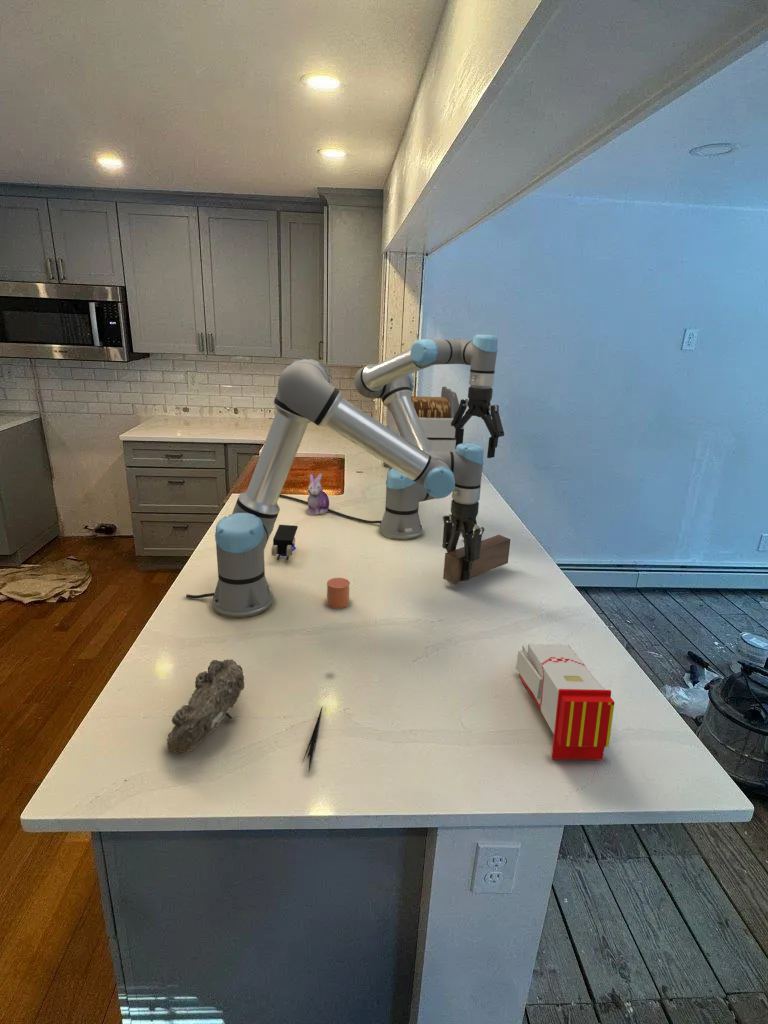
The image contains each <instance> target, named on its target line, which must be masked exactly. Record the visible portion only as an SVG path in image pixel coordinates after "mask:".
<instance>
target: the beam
mask: <svg viewBox="0 0 768 1024" xmlns="http://www.w3.org/2000/svg"><path fill="white" fill-rule="evenodd" d="M511 541H512V540H511V538H509V537H507V536H504V535H501V534H496V535H493V536H491V537H488V538H485V539H482V541H481V550H480V558H479V559H478V560H476V561H473V566H472V570H471V571H470V578H469V580H470V579H472V578H475V577H477V576H480V575H483V574H484V573H487V572H490V571H492V570H494V569H497V568H500V567H502V566H504V565H507V564H508V563H509V557H510V549H511ZM464 559H465V549H464V546H462V547H460V548H456V550H453V551H450V552H447V551H446V552H445V553H444V564H443V575H442V579H443V580H445V581H447V582H449V583H451V584H453V585H457V584H460V583H463V582H462V581H461V576H462V566H463V560H464Z"/></svg>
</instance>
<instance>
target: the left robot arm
mask: <svg viewBox="0 0 768 1024" xmlns="http://www.w3.org/2000/svg"><path fill="white" fill-rule="evenodd" d="M273 405H274V407H275V409H276V412H275V414H274V417H273V420H272V422H271V425H270V428H269V431H268V433H267V436H266V438H265V441H264V444H263V447H262V449H261V451H260V454H259V457H258V460H257V462H256V465H255V467H254V471H253V473H252V475H251V478H250V481H249V484H248V487H247V489H246V490H245V491H243V492H241V493H239V495H238V497H237V499H236V502H235V505H234V507H233V510H232V512H231V514H228V516H223V517H222V518H221V519H220V520H219V521H218V522H217V524H216V526H215V533H214V541H215V548H216V561H217V562H216V563H217V576H218V577H217V578H218V579H217V582H216V586H215V589H214V592H210V593H209V592H208V593H203V594H188V593H186V595H185V598H189V599H202V598H203V599H204V598H208V597H212V601H211V602H212V609H213V611H214V612H215V613H216V614H218V615H219V616H221V617H225V618H228V619H229V618H230V619H249V618H254V617H258V616H259V615H261V614H264V613H266V612H267V611H269V609H270V608H272V606H273V601H274V600H273V592H272V590H271V589H272V588H271V585H270V583H269V582H268V580H267V578H266V574H265V573H266V571H265V549H266V546H267V544H268V541H269V539H270V536H271V534H272V532H273V531H274V527H275V524H276V521H277V519H278V517H279V513H280V510H281V509H280V508H281V507H280V506H279V504H278V501H279V498H280V494H282V491H283V488H284V486H285V483H286V481H287V478H288V475H289V473H290V471H291V469H292V467H293V466H292V465H293V463H294V460H295V459H296V455H297V452H298V451H299V448H300V445H301V444H302V440H303V438H304V435H305V433H306V430H307V428H308V425H309V424H310V423H313V424H315V425H316V426H318V427H323V426H326V427H327V428H329V429H330V430H332V431H334V432H335V433H337V434H339V435H340V436H342V437H344V438H345V439H346V440H347V441H350V442H351V443H353V444H354V445H356V446H358V447H359V448H361V449H362V450H364V451H365V452H367V453H369V455H372V456H374V457H375V458H377V459H378V460H380V461H381V462H383V463H384V462H385V463H386V464H388V465H389V466H391V467H392V468H394V469H396V470H397V471H399V472H400V473H402V474H404V475H405V476H407V477H408V478H410V479H411V480H413V481H414V482H416V483H417V484H419V485H420V486H422V487H424V489H425V491H426V492H427V493H428V494H429V495H430V496H432V497H434V498H439V499H444V498H446V497H448V496H450V495H451V498H452V499H451V503H450V513H451V514H447V515H443V516H442V520H443V532H442V546H441V547H442V549H444V550H446V553H447V552H450V551H453V550H456V549H457V546H458V543H459V539H460V537H462V539H463V547H464V549H465V559H464V560H463V566H462V576H461V581H462V582H461V583H464V582H467V581H470V579H471V578H470V571H471V570H472V566H473V561H476V560H478V559H479V558H480V550H481V541H482V540H483V534H484V532H485V528H484V527H483V526H480V525H478V522H477V517H478V514H479V508H480V507H479V506H480V502H479V501H480V498H481V488H482V487H481V485H482V475H483V468H484V453H485V451H484V448H483V447H482V446H481V445H479V444H477V443H469V442H463V444H458V445H457V446H456V449H455V451H452V452H442V451H425V450H421V449H420V448H418V447H417V446H415V445H414V444H412V443H411V442H409V441H408V440H406V439H404V438H403V437H401V436H400V435H398V434H397V433H395V432H394V431H392V430H391V429H389V428H388V427H386V426H387V425H385V424H383V423H382V422H380V421H378V420H377V419H375V418H374V417H373V416H371V415H370V414H367V413H366V412H365V411H364V410H362V409H360V408H359V407H358V406H356V405H354V404H353V403H351V402H349V400H346V399H345V398H343V395H342V391H341V390H340V389H338V388H336V387H335V386H334V385H332V383H331V379H330V375H329V373H328V370H327V369H326V368H325V367H324V365H323V364H322V363H320V362H319V361H317V360H316V359H312V358H307V357H302V358H297V359H295V360H293V361H292V362H291V363H289V364H288V366H287V367H285V368H284V369H283V370H282V372H281V374H280V375H279V378H278V382H277V392H276V395H275V397H274V400H273ZM469 578H470V579H469Z"/></svg>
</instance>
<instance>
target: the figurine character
mask: <svg viewBox="0 0 768 1024" xmlns="http://www.w3.org/2000/svg"><path fill="white" fill-rule="evenodd" d="M298 528H299V527H298V525H292V524H291V525H290V524H279V525H278V527H277V528H276V532H275V534H274V536H273V538H272V547H271V556H272V557H276V561H280V559H281V557H282V558H285V561H286V562H288V561H289V559H290V557H292V556H293V552H294V551H295V550H296V549H297V547H296V545H295V544H296V538H295V536H296V534H297V530H298Z"/></svg>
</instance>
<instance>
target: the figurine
mask: <svg viewBox="0 0 768 1024" xmlns="http://www.w3.org/2000/svg"><path fill="white" fill-rule="evenodd" d="M322 478H323V473H322V472H319V473H318V474H317V476H316V477H315V476H314V473H310V474H309V484H308V487H307V492H308V497H307V502H308V504H307V513H308V515H313V516H317V515H323V514H326V513H329V512H328V509H330V497H329V496H328V494H327V493H326V492H325V491H323V485H322V484H321V481H322Z"/></svg>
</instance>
